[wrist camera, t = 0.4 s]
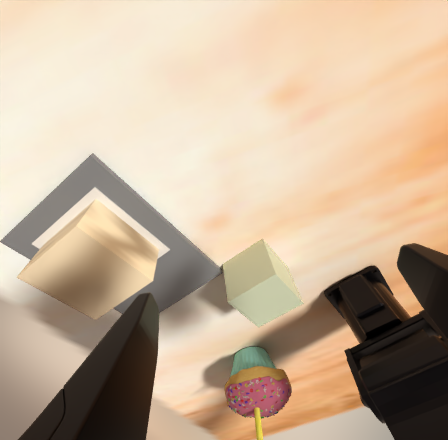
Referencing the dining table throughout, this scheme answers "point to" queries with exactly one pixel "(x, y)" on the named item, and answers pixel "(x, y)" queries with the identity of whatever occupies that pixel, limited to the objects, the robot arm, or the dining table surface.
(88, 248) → the maple block
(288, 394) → the cupcake
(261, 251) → the green cube
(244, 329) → the dining table surface
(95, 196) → the grey flat plate
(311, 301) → the dining table surface
